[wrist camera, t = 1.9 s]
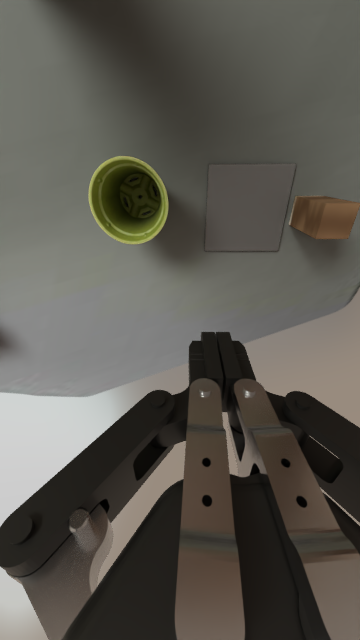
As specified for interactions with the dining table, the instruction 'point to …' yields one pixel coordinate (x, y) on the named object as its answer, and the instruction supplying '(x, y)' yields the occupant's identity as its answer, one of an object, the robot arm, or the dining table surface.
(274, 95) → the dining table surface
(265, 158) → the dining table surface
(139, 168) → the plant pot
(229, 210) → the mat
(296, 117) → the dining table surface
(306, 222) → the tan wooden block
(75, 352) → the dining table surface
